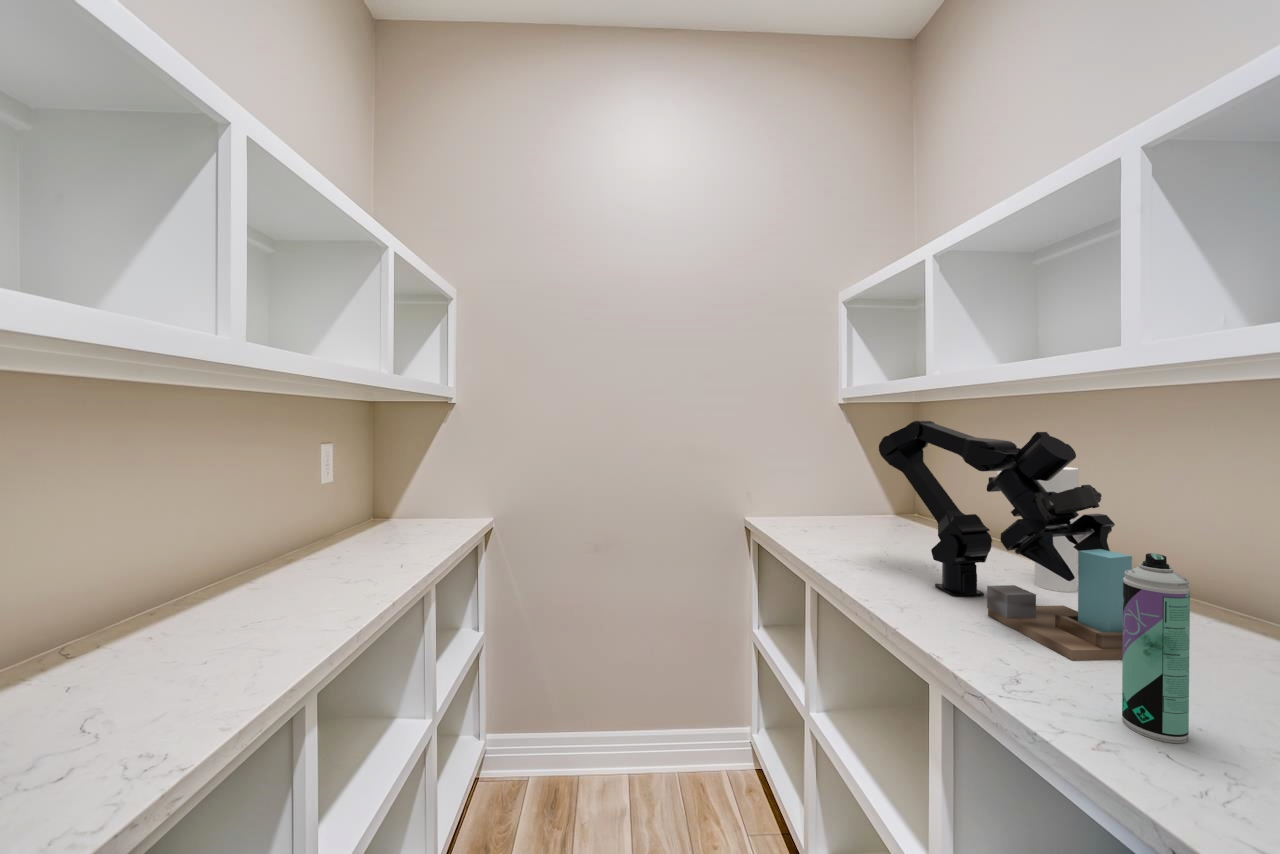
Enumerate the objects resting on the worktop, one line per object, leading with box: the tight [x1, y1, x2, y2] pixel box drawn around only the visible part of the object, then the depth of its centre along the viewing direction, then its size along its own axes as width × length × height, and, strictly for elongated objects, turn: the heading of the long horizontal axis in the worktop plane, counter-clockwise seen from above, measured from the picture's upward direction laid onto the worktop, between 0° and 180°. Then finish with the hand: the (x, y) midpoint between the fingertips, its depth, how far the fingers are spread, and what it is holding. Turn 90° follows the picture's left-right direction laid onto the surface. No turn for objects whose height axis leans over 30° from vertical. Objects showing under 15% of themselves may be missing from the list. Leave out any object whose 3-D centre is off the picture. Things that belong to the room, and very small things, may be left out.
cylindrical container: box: [1033, 466, 1079, 593], centre depth 112 cm, size 7×7×25 cm
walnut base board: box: [986, 584, 1123, 661], centre depth 87 cm, size 18×14×6 cm
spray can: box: [1121, 552, 1191, 744], centre depth 61 cm, size 6×6×20 cm
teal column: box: [1077, 549, 1133, 633], centre depth 83 cm, size 4×4×13 cm
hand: (1094, 577), depth 84 cm, fingers open, 9 cm apart
